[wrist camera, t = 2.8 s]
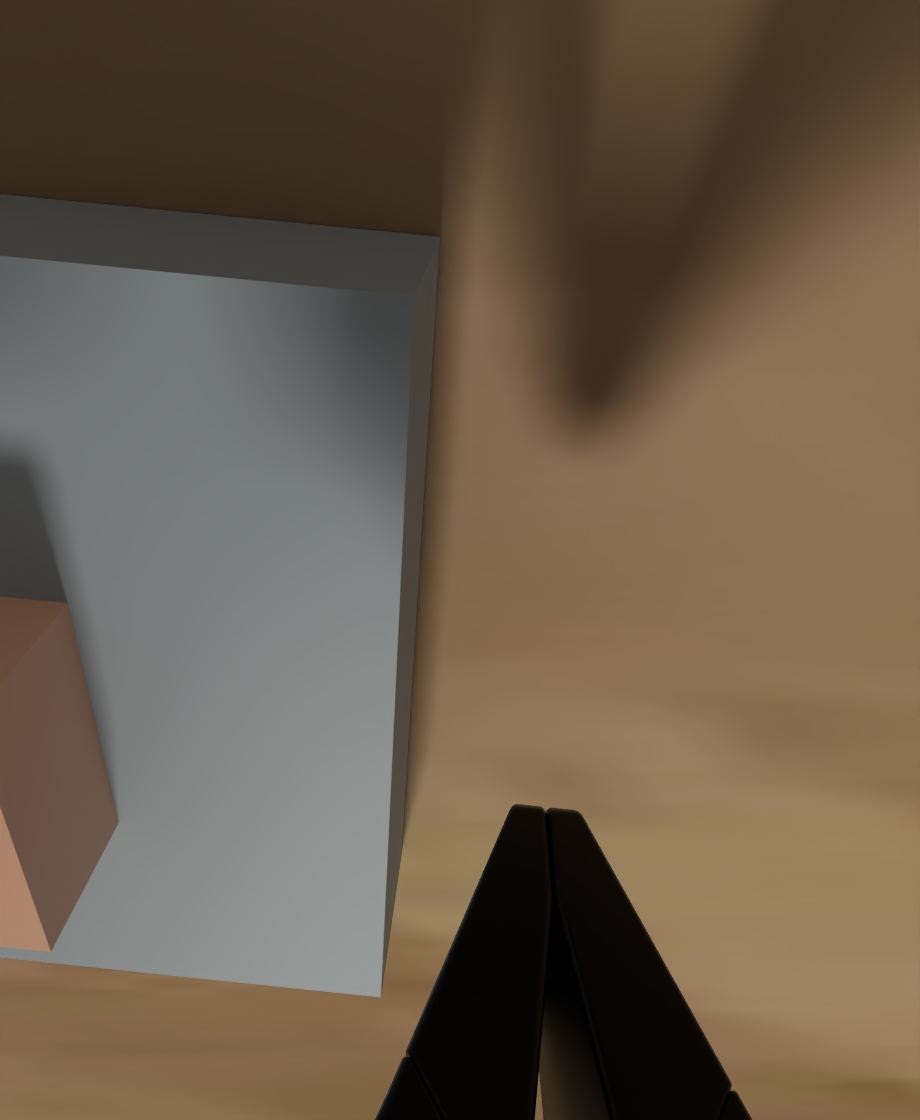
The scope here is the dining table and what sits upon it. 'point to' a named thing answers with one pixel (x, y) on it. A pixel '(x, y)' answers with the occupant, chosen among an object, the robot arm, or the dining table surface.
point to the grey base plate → (225, 567)
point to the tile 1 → (46, 775)
